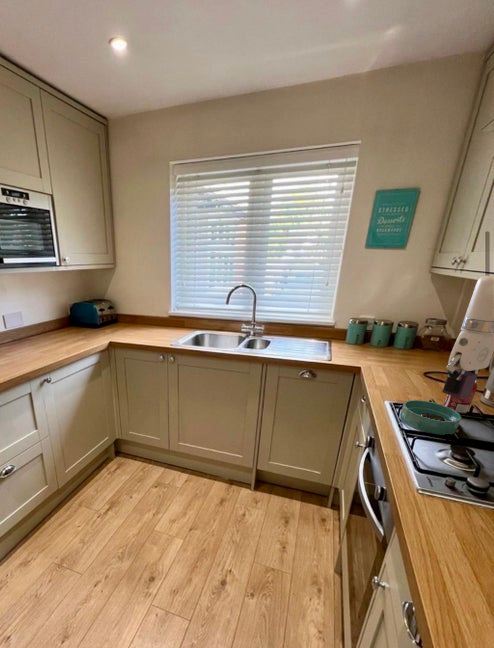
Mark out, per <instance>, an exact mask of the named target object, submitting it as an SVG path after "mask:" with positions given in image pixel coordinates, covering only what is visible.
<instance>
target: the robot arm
mask: <svg viewBox="0 0 494 648" xmlns="http://www.w3.org/2000/svg"><path fill="white" fill-rule="evenodd" d="M493 355H494V275H491V274H490V275H489V274H488V275H487V274H486V275H483V276H480V277H479V278H478V279H477V281H476V284H475V286H474V290H473V293H472V295H471V298H470V300H469V303H468V306H467V310H466V313H465V315H464V318H463V320H462V325H461V327H460V333H459V334H458V336H457V338H456V341H455V342H454V345H453V347H452V350H451V352H450V355H449V358H448V364H447V366H446V367H445V370H446V371H447V376H448V380H447V383H446V386H445V388H444V387H443V388H444V390H445V391H448V392H451V393H454V394H457V393H458V391H459V388H460V386H461V383H462V380H461V378H462V376H463V374H464V373H465V371H468V372H471V373H475V374H479V372H481V370H483V369H486V368H488V367H489V366H490V364H491V360H492V357H493ZM456 370H460V372H459V374H458V371H456Z"/></svg>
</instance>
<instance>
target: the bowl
mask: <svg viewBox="0 0 494 648" xmlns="http://www.w3.org/2000/svg"><path fill="white" fill-rule="evenodd" d="M422 413H429V414H434V415H437V416H441V417H443V418H444V419H446V420H447V421H440V420H435V419H430V418H427V417H423V416H421V414H422ZM399 419H400V420H401V421H402V422H403V423H404V424H406V425H407V426H409V427H412V428H413V429H416V430H418V431H420V432H424V433H429V434H434V435H440V436H441V435H442V436H446V435H445V434H450V435H453V434H455V433H456V432H457V430H458V427H459V425H460V423H461V420H462V416H461V414H460V413H457V412H456V411H455V410H453V409H451V408H449V407H446V406H444V404H440V403H437V402H433V401H428V400H422V399H421V400H420V399H409V400H406V401H404V403H403V404H402V407H401V411H400V414H399ZM454 432H455V433H454ZM452 433H453V434H452Z"/></svg>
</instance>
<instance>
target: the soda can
mask: <svg viewBox="0 0 494 648" xmlns="http://www.w3.org/2000/svg"><path fill="white" fill-rule="evenodd" d="M477 382H478V380H476V381H475V383H474V386H473V388H472V391H471V394H470V396H469V397H464V398H456V397H454V396H451V395H448V394H446V398H445V401H444V403H443V406H446V407H449V408H451V409H453V410H455V411H456V412H457V413H459V414H460V415H462V414H463V415H465V414H467V413H468V411H469V409H470V407H471V405H472V402H473V399H474V397H475V394H476V392H477V389H478V383H477Z"/></svg>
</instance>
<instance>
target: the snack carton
mask: <svg viewBox="0 0 494 648" xmlns="http://www.w3.org/2000/svg"><path fill="white" fill-rule="evenodd" d="M456 371H458V374H459V372H460V370H457V369H456ZM478 374H479V373H478ZM478 374H475V373H471V372H468V371H465V373H464V374H463V376H462V378H461V380H462V383H461V386H460V388H459V391H458V393H457V394H454V393H451V392H448V391H445V390H444V388H445V386H446V383H447V380H448V375H447V377H446V380H445V383H444V386H443V388H442V391H441V393H443V394H446V395H451V396H454V397H456V398H464V397H469V396H470V394H471V391H472V388H473V386H474V383H475V381H477V378H478Z"/></svg>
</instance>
